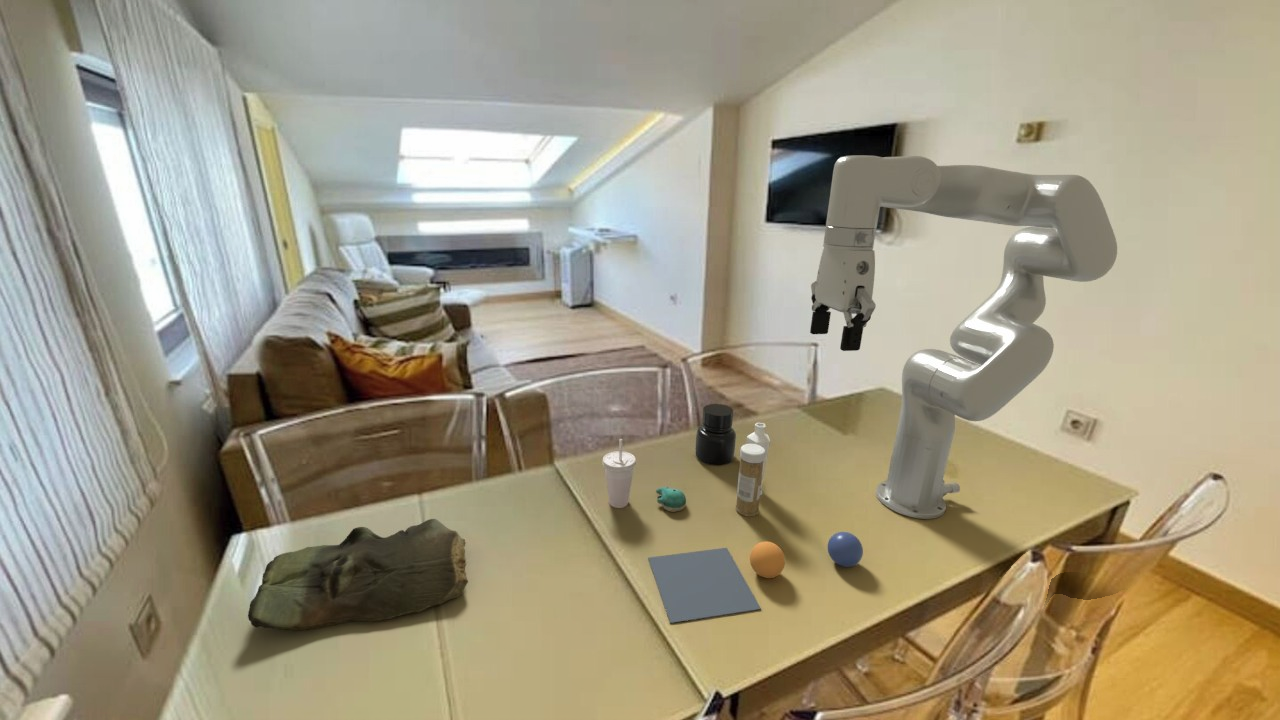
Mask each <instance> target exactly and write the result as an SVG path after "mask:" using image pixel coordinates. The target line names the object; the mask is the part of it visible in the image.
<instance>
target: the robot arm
mask: <svg viewBox="0 0 1280 720" xmlns="http://www.w3.org/2000/svg"><path fill="white" fill-rule="evenodd" d="M831 179H832V180H831V186H830V195H829V199H828V200H829V201H828V208H827V215H826V221H825V229H824V238H823V245H822V246H823V248H822V253H821V256H820V262H819V265H818V270H817V274H816V275H817V276H816V280H815V281H814V282H812V283H811V285H810V288H811V294H812V295H811V298H810V299H811V301H812V305H811V311H812V316H811V323H810V330H809V333H810V334H811V335H827V334H828V333H829V328H830V321H831V315H832V314H831V313H832V312H831V311H829V310H830V309H832V310H834V311H837V312H840V313H843V315H844V321H845V324H846V325H843V328H842V334H841V340H840V348H839V349H840V350H841V351H842V352H853V351H854V352H857V351H859V350H860V348H861V343H862V338H863V333H864V332H863V331H864V328H866V327H867V323H868V322H869V321H870V320H871V317H872V315H873V313H874V311H875V309H876V307H877V306H876V303H875V301H874V300H873V295H874V284H875V273H876V255H875V253H876V252H875V250H874V246H875V245H874V244H875V239H876V232H877V228H878V227H877V226H878V221H879V215H880V208H881V207H883V208H887V209H888V208H889V209H896V210H905V211H912V212H919V213H924V214H930V215H933V216H939V217H945V218H954V219H959V220H960V219H961V220H965V221H966V220H967V221H974V222H975V221H976V222H984V223H991V224H996V225H1004V226H1012V227H1021V228H1022V227H1024V228H1022V229H1019V230H1017V231H1015V232H1014V233H1013V234H1012V235H1011V237H1009V239H1008V241H1007V243H1006V245H1005V248H1004V252H1003V263H1002V273H1001V279H1000V282H999V284H998V286H997V287H996V289H995V290H994V291H993V292H992V293H991V294H990V295H989V296H988V297H987V298H986V299H984V301H983V302H982V303H980V305H979V306H977V307H976V308H975V309H974V310H973V311H972V312H971V313H969V314H968V315H967V316H966V317H965V318H964V319H963V320H962V321H960V323H959V324H958V325H956V327H955V328H954V330H953V331H952V333H951V335H950V337H949V345H950V347H951V349H952V351H953V352H955V354H952V353H950V352H947V351H945V350H940V349H936V348H935V349H934V348H924V349H920V350H918V351H916V352H914V353H913V354H912V355H910V356H909V357H908V359H907V360H906V361H905V363H904V365H903V369H902V373H901V393H902V394H901V397H902V398H901V407H900V408H901V409H900V412H899V419H898V422H897V423H898V424H897V429H896V434H895V438H894V443H893V449H892V452H891V453H892V454H891V459H890V464H889V467H888V473H887V477H886V480H884V481H882V482H880V483H879V484H878V485H877V486H876V490H875V494H876V497H877V499H878V500H879V501H880V503H882V504H883V505H884V506H885V507H887V508H888V509H890V510H892V511H893V512H896V513H899V514H900V515H903V516H906V517H910V518H914V519H920V520H923V519H924V520H930V519H931V520H932V519H937V518H939V517H942V516H943V515H944V514H945V512H946V509H947V503H946V501H945V499H944V496H946V495H947V494H956V493H959V492H960V491H961V487H960V485H959V483H957V482H951V483H945V480H944V476H945V472H946V469H947V464H948V461H949V454H950V451H951V447H952V443H953V439H954V436H955V432H956V417H959V418H961V419H963V420H966V421H968V422H981V421H984V420H986V419H987V420H988V419H989V418H991V417H992V416H994V415H996V414H997V413H998V412H999V411H1000V410H1002V409H1003V408H1004V407H1005V406H1006V405H1008V404H1009V403H1010V402H1011V401H1012V400H1013V399H1014V398H1015V397H1016V396H1018V394H1020V393H1021V392H1022V391H1023V390H1024V389H1026V387H1028V386H1029V385H1030V384H1031V383H1032V382H1033V381H1035V380H1036V379H1037V377H1039V375H1041V374H1042V372H1043V371H1045V369H1046V367H1047V366H1048V364H1049V363H1050V361H1051V359H1052V356H1053V353H1054V345H1055V344H1054V340H1053V338H1052V336H1051V334H1050V332H1048V331H1047V330H1046V329H1045V328H1043V327H1042V326H1040V325H1038V324H1035V322H1036V321H1037V320H1038V319H1039V318H1040V317H1041V316H1042V314H1043V313H1044V311H1045V308H1046V304H1047V303H1046V301H1047V300H1046V299H1047V298H1046V292H1045V285H1044V277H1049V278H1054V279H1055V278H1056V279H1061V280H1067V281H1071V282H1072V281H1073V282H1077V283H1078V282H1079V283H1081V282H1083V283H1084V282H1087V283H1088V282H1092V281H1093V282H1094V281H1096V280H1098V279H1101V278H1102V277H1104V276H1105V275H1106V274H1108V272H1109V271H1110V270H1111V269H1112V268H1113V266H1114V265H1115V262H1116V260H1117V256H1118V245H1117V244H1118V243H1117V238H1116V234H1115V232H1114V229H1113V227H1112V225H1111V224H1112V223H1111V221H1110V219H1109V216H1108V214H1107V211H1106V207H1105V206H1104V203H1103V201H1102V199H1101V196H1100V195H1099V192H1098V191H1097V189H1096V188H1095V186H1094V185H1093V184H1092V183H1091V182H1090V180H1089V179H1087V178H1086V177H1084V176H1082V175H1079V174H1031V173H1030V174H1029V173H1024V172H1019V171H1011V170H1008V169H1007V170H1005V169H1000V168H994V167H990V166H986V165H985V166H983V165H975V164H951V165H938V164H936V163H935V162H934V161H933V160H931V159H929V158H927V157H925V156H921V155H905V156H885V157H882V156H877V155H866V154H865V155H864V154H863V155H862V154H861V155H854V154H853V155H845V156H840V157H839V158H838V159H837V160H836V161H835V163H834V165H833V171H832V178H831ZM852 314H854V315H855V314H856V315H855V316H853V315H852ZM956 354H957V355H958V356H957V355H956Z"/></svg>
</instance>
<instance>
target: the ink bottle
mask: <svg viewBox="0 0 1280 720" xmlns="http://www.w3.org/2000/svg"><path fill="white" fill-rule="evenodd" d="M733 418H734V409H733V408H732V407H731V406H728V405H726V404H722V403H710V404H706V405H705V406H703V408H702V420H701V421H702V422H701V423H702V424H701V425H699V427H698V428H697V429H696V438H695V457H696V458H697V460H698V461H700V462H701V463H703V464H705V465H710V466H726V465H729V464H731V463H732V462H733V461H734V458H735V450H736V439H737V434H736V431H735V430H734V428H733V427H732V426H733Z"/></svg>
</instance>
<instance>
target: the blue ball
mask: <svg viewBox="0 0 1280 720" xmlns="http://www.w3.org/2000/svg"><path fill="white" fill-rule="evenodd" d="M863 549H864V548H863V544H862V543H861V541H860V539H859V538H858V537H857V536H856V535H855V534H852V533H851V532H848V531H840V532H839V531H838V532H836V533H834V534H833V535H831V536H830V538H829V540H828V543H827V553H828V555H829V557H830V559H831V560H832V561H833V562H834V563H835V564H837V565H839V566H841V567H844V568H845V567H847V568H850V567H853V566H855V565H856V566H857V564H858V563H860V561H861V560H862V558H863V555H864V550H863Z"/></svg>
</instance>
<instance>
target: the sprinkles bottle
mask: <svg viewBox="0 0 1280 720" xmlns="http://www.w3.org/2000/svg"><path fill="white" fill-rule="evenodd" d="M739 457H740V458H739V460H740V461H739V469H738V477H737V478H738V479H737V480H738V481H737V487H736V488H737V489H736V490H737V492H736V504H735V510H736V512H737V513H738V514H740V515H741V516H745V517H754V516H756V515H758V513H759V512H760V507H759V506H760V500H761V499H760V498H761V495H760V492H761V487H762V486H761V481H762V469H763V462H764V460H765V449H764V448H763V447H761V446H759V445H756V444H747V443H745V444H743V445H742V446H741V447H740V451H739ZM762 482H763V481H762Z"/></svg>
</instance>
